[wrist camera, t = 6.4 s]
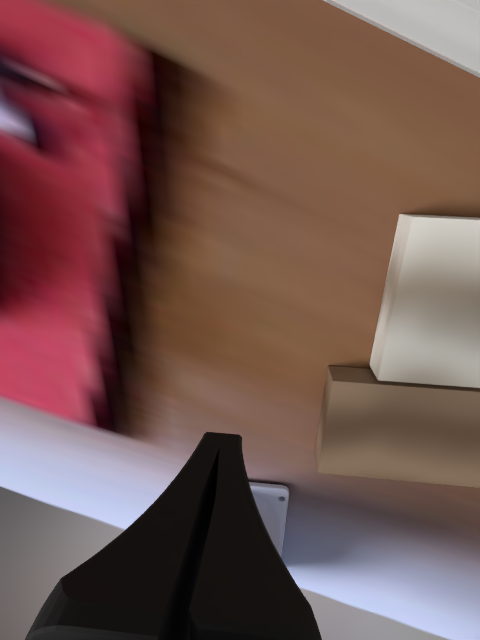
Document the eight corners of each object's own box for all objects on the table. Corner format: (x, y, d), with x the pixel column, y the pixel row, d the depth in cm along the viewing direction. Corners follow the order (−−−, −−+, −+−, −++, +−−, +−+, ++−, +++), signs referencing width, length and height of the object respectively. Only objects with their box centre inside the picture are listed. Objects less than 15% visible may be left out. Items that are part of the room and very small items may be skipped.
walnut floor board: (553, 474, 24) (575, 496, 22) (314, 452, 25) (317, 473, 23) (597, 385, 21) (625, 403, 19) (328, 365, 22) (332, 381, 20)
